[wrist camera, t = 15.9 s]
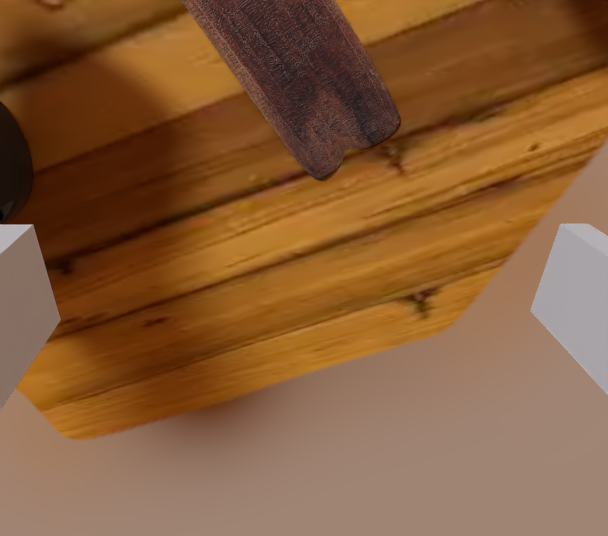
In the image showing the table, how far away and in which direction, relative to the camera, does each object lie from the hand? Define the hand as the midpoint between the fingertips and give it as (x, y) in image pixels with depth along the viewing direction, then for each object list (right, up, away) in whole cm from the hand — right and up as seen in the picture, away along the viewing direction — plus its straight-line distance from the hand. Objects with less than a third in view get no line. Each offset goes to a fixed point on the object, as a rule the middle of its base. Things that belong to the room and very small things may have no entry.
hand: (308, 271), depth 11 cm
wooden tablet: (-3, +20, +25) cm, 32 cm away
